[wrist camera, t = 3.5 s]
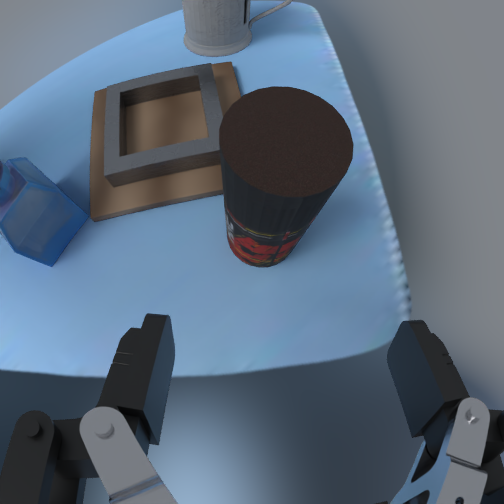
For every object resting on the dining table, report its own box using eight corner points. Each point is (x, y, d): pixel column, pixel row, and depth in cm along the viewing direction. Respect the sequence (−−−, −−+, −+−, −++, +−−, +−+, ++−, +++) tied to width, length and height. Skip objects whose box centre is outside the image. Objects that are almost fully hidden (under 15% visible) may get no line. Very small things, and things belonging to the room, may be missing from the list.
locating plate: (94, 221, 27) (78, 208, 24) (97, 96, 31) (87, 78, 27) (262, 187, 29) (266, 169, 25) (231, 67, 32) (231, 45, 29)
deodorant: (213, 229, 28) (191, 127, 13) (265, 189, 29) (289, 70, 14) (257, 281, 27) (284, 227, 12) (309, 238, 28) (378, 149, 13)
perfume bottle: (55, 184, 28) (-9, 124, 16) (89, 216, 27) (20, 156, 16) (21, 231, 27) (-54, 188, 15) (51, 267, 26) (-31, 232, 14)
